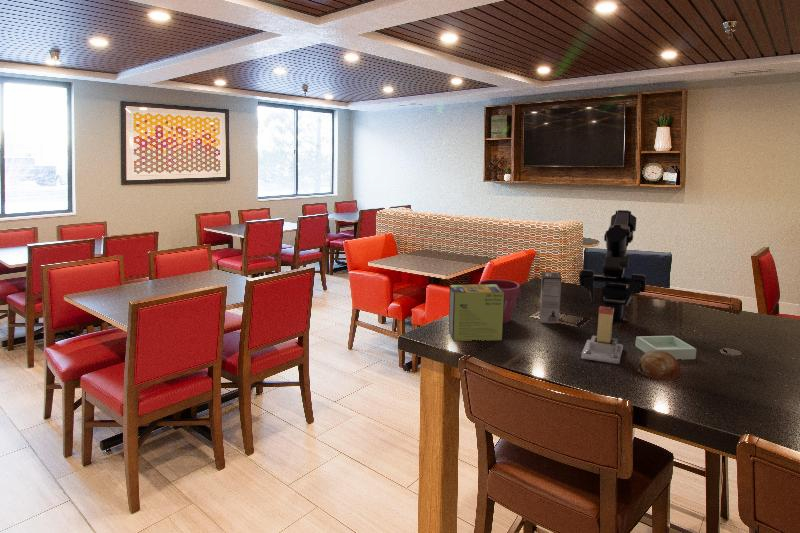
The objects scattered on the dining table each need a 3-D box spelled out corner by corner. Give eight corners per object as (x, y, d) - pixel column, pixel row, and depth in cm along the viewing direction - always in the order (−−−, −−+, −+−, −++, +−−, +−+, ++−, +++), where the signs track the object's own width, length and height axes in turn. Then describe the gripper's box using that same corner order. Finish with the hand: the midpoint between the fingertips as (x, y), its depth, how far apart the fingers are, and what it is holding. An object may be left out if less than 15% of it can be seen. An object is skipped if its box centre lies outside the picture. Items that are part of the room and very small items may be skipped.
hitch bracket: (587, 344, 167) (587, 333, 166) (622, 349, 163) (623, 338, 162) (581, 358, 155) (582, 346, 155) (619, 364, 151) (620, 352, 150)
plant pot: (523, 325, 186) (525, 288, 183) (482, 326, 184) (484, 288, 182) (511, 313, 200) (512, 278, 197) (473, 314, 198) (474, 279, 196)
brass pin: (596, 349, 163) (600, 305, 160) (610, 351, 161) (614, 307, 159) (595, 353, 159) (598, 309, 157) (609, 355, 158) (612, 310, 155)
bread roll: (636, 379, 150) (626, 354, 149) (670, 363, 150) (660, 338, 149) (655, 394, 141) (645, 368, 139) (692, 377, 141) (682, 350, 139)
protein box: (502, 340, 170) (504, 291, 167) (453, 341, 169) (454, 292, 166) (494, 330, 180) (496, 283, 177) (448, 330, 179) (449, 284, 176)
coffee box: (538, 315, 197) (541, 271, 194) (557, 316, 196) (560, 272, 193) (540, 322, 188) (542, 276, 185) (559, 324, 187) (562, 277, 184)
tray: (635, 346, 166) (636, 336, 165) (672, 345, 166) (673, 335, 166) (655, 360, 154) (656, 349, 154) (695, 359, 155) (696, 349, 155)
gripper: (582, 243, 169) (574, 286, 162) (648, 248, 161) (644, 293, 154) (584, 264, 178) (576, 305, 170) (647, 269, 170) (642, 313, 162)
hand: (608, 304), depth 164 cm, fingers open, 9 cm apart
